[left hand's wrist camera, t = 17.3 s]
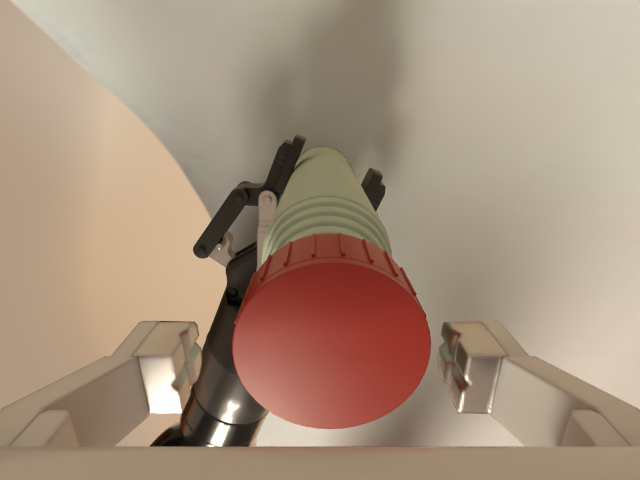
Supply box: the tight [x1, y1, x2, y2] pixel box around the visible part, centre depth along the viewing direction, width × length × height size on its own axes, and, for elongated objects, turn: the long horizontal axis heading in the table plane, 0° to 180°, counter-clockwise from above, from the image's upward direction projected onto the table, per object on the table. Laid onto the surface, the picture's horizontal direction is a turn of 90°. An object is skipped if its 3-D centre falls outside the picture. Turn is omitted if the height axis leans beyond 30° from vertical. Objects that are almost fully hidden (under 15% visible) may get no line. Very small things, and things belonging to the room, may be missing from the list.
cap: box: [232, 233, 431, 429], centre depth 9 cm, size 5×5×2 cm
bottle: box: [261, 146, 392, 264], centre depth 20 cm, size 5×5×23 cm
